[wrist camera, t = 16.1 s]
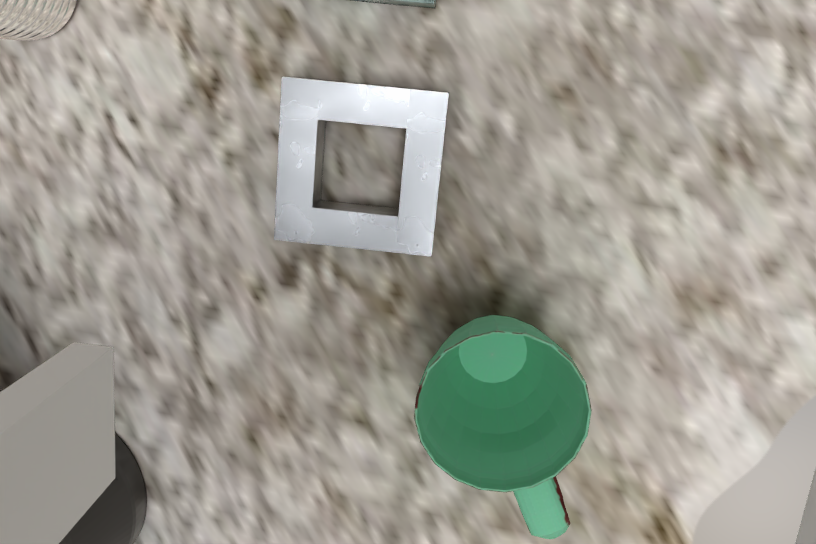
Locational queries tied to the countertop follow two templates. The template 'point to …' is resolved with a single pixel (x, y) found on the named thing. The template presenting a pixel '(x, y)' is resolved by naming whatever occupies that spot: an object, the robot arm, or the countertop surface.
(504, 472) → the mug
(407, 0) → the tray
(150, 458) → the countertop surface
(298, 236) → the block
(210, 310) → the countertop surface
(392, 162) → the countertop surface
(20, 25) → the water bottle
